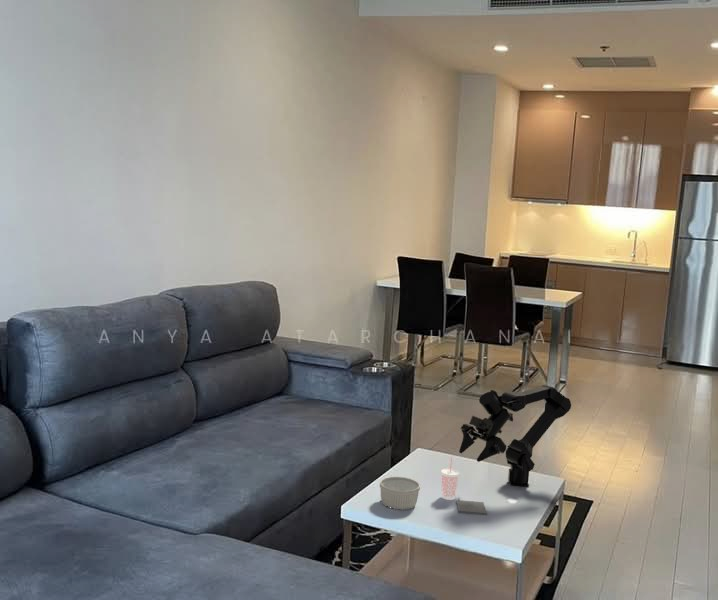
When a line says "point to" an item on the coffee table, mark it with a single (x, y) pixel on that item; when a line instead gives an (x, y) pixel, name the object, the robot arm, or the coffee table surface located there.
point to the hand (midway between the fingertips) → (468, 456)
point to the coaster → (471, 507)
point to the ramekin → (399, 492)
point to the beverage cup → (449, 482)
